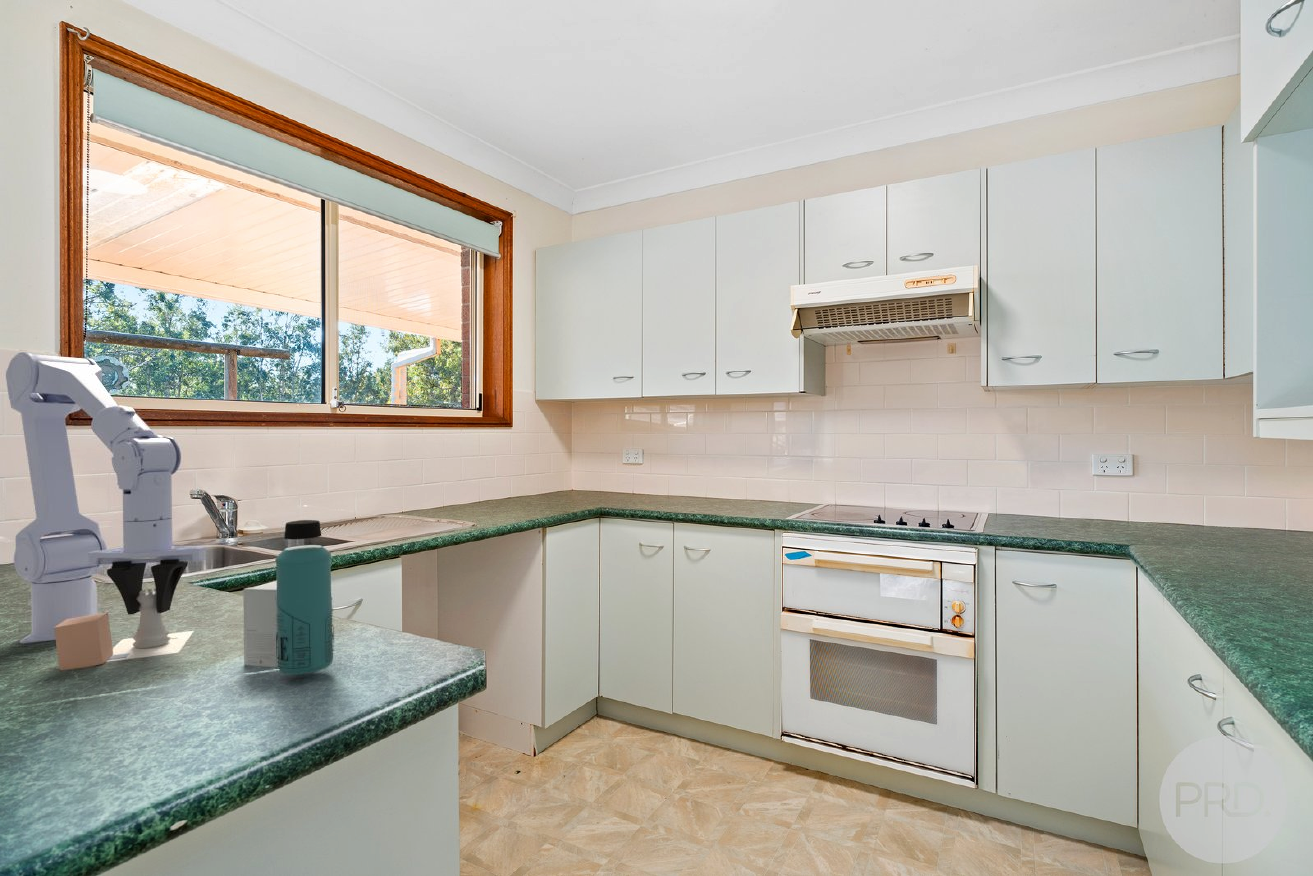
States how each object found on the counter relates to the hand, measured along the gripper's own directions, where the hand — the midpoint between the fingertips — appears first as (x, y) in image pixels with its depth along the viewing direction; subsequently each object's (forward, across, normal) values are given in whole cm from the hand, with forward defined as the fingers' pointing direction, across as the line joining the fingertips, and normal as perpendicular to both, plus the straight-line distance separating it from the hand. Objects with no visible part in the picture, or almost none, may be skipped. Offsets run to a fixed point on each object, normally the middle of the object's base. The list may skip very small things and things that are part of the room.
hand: (149, 612), depth 97 cm
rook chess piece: (+5, 0, 0) cm, 5 cm away
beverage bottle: (+6, -27, +18) cm, 33 cm away
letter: (+5, 0, 0) cm, 5 cm away
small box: (+6, -22, +9) cm, 24 cm away
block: (+5, +4, +6) cm, 9 cm away
